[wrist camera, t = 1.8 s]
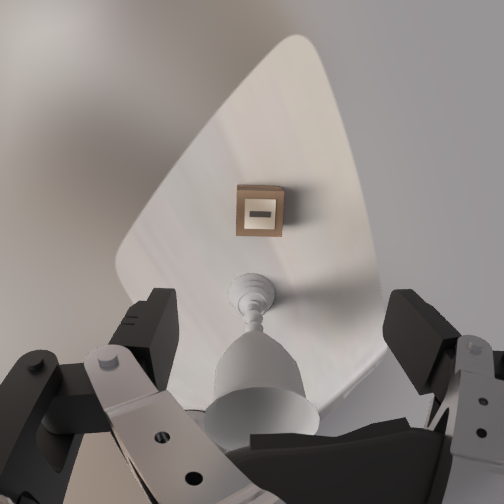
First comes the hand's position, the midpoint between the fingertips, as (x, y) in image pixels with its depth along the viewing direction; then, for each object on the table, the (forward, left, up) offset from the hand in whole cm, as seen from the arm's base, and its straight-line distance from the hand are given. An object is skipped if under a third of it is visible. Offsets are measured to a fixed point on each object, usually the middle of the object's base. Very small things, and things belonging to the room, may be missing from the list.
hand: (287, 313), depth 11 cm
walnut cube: (0, 0, -21) cm, 21 cm away
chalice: (-9, -5, -21) cm, 23 cm away
